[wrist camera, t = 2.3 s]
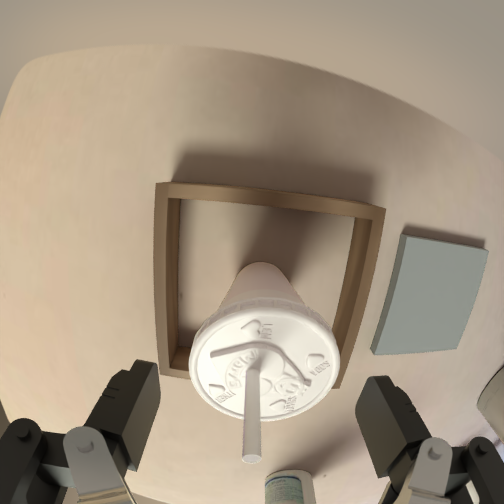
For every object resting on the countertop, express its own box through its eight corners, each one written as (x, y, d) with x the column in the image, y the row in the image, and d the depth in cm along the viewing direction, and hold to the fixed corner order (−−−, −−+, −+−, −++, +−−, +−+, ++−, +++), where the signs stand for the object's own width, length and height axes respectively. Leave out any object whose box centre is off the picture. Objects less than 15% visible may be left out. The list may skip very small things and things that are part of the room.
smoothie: (239, 226, 19) (203, 353, 5) (321, 266, 20) (416, 414, 6) (202, 304, 20) (143, 470, 7) (279, 337, 21) (300, 505, 8)
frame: (367, 203, 18) (385, 208, 15) (331, 365, 22) (339, 388, 19) (170, 181, 18) (155, 183, 15) (169, 352, 22) (159, 374, 19)
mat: (482, 248, 19) (488, 250, 18) (451, 344, 22) (456, 349, 21) (400, 233, 19) (407, 236, 18) (370, 348, 21) (374, 355, 20)
